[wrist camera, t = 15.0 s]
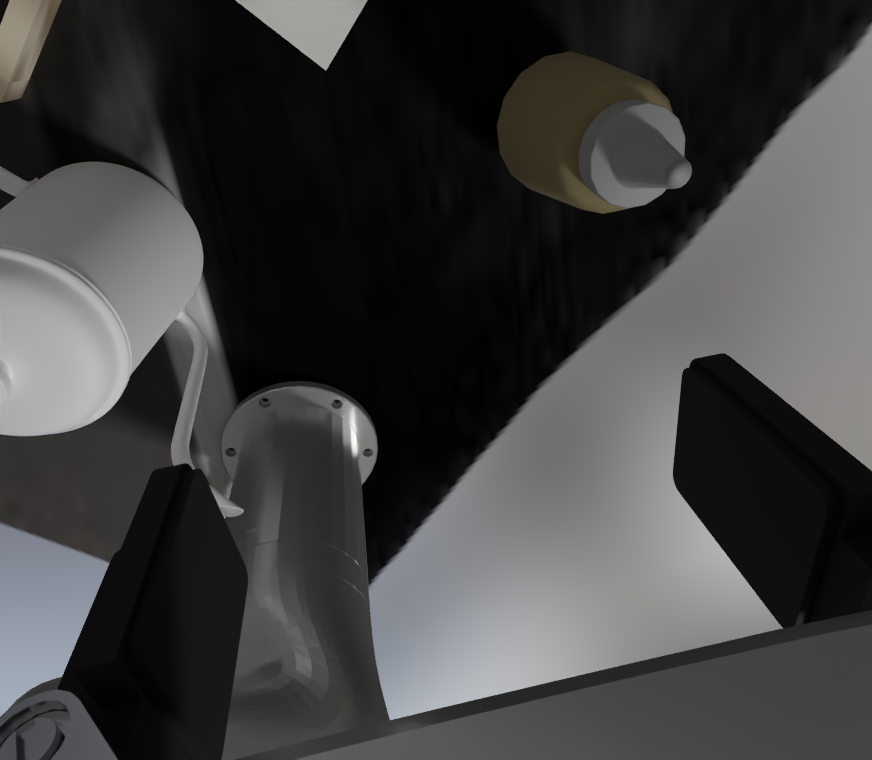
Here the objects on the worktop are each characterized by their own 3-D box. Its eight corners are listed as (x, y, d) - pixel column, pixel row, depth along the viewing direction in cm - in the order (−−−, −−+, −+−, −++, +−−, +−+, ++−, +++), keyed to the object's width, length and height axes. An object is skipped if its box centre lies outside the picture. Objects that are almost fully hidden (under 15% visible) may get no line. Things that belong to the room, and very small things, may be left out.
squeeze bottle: (610, 52, 38) (801, 64, 23) (589, 182, 42) (739, 267, 27) (488, 47, 37) (601, 57, 21) (479, 181, 41) (568, 270, 25)
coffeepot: (221, 408, 47) (164, 604, 31) (-120, 158, 35) (-506, 265, 19) (319, 321, 44) (313, 484, 28) (-12, 20, 32) (-349, 8, 16)
